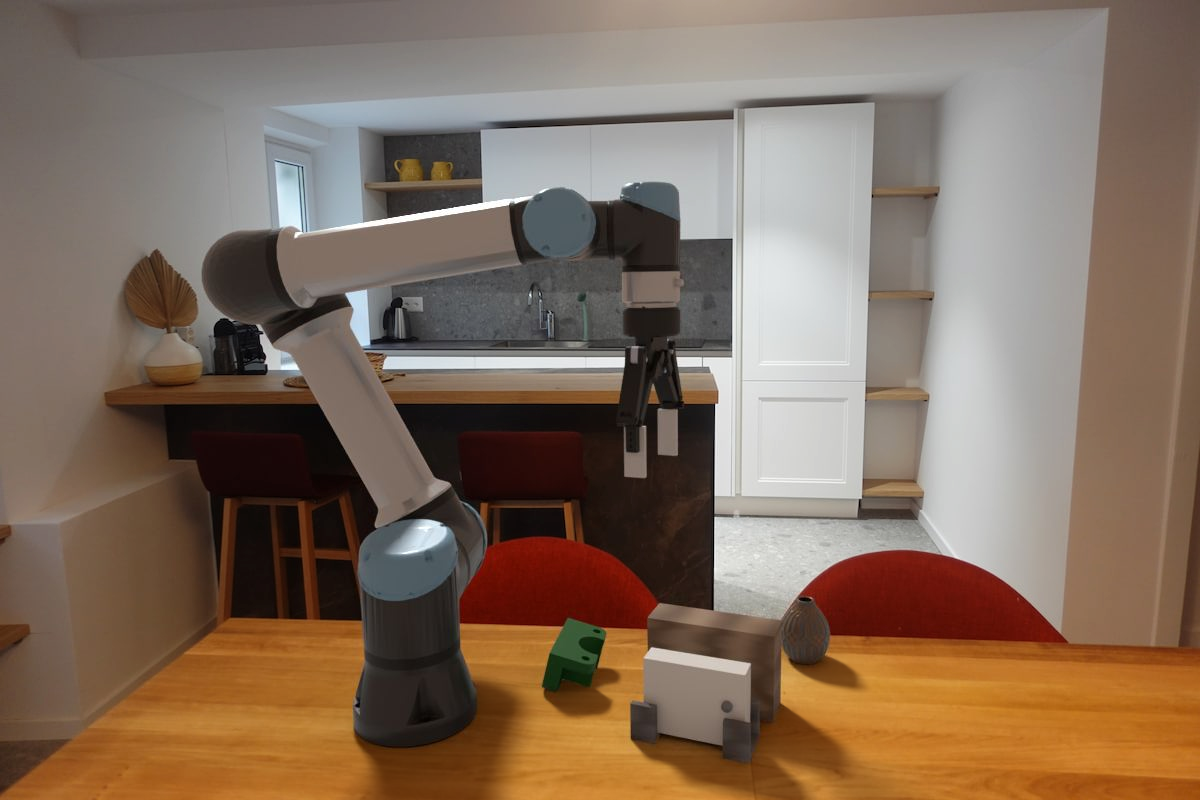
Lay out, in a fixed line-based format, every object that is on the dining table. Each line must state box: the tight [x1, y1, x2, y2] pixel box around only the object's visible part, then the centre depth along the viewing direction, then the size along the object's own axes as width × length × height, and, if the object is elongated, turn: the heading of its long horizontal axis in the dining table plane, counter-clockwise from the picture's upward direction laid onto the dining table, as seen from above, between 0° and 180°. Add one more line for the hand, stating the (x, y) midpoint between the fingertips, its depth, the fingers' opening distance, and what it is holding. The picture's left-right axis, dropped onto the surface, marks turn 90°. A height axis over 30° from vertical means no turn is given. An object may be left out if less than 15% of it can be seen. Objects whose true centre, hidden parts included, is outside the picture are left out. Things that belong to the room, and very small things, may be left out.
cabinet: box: [629, 602, 782, 764], centre depth 98 cm, size 16×14×11 cm
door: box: [642, 647, 751, 747], centre depth 94 cm, size 12×4×9 cm, turn 68°
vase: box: [781, 595, 831, 665], centre depth 114 cm, size 7×7×9 cm
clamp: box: [541, 617, 607, 693], centre depth 110 cm, size 12×6×9 cm, turn 164°
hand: (652, 465), depth 108 cm, fingers open, 13 cm apart
